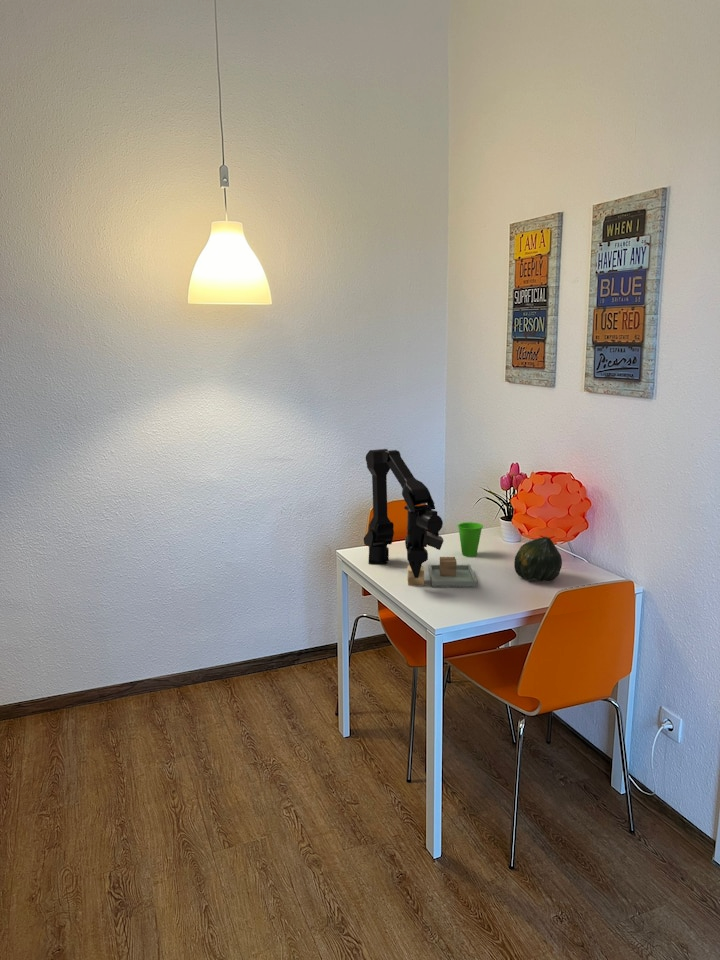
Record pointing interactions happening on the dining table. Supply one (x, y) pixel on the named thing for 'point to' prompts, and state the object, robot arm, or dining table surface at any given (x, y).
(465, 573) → the tray
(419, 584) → the oak block
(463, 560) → the dining table surface
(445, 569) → the walnut block
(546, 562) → the squash
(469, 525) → the cup
